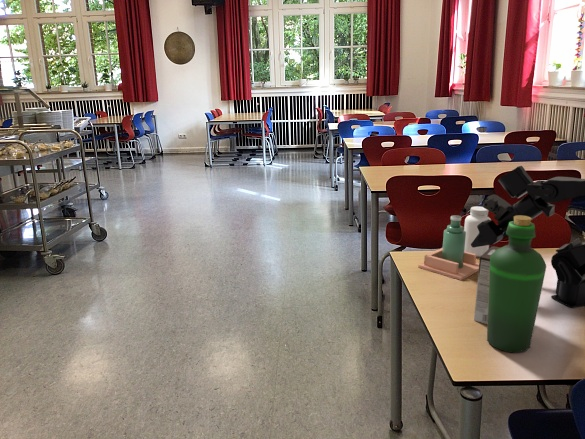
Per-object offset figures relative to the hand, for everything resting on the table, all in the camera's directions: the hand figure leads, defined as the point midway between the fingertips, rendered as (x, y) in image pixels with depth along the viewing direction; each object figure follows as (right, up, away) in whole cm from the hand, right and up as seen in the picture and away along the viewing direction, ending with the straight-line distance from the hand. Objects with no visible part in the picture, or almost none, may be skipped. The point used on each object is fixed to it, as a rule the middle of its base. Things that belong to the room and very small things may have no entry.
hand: (479, 242), depth 139 cm
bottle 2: (-7, -20, -34) cm, 40 cm away
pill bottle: (+6, -5, +20) cm, 21 cm away
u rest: (-5, -8, +8) cm, 13 cm away
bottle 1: (-5, -7, +8) cm, 12 cm away
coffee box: (-5, -17, -22) cm, 29 cm away
